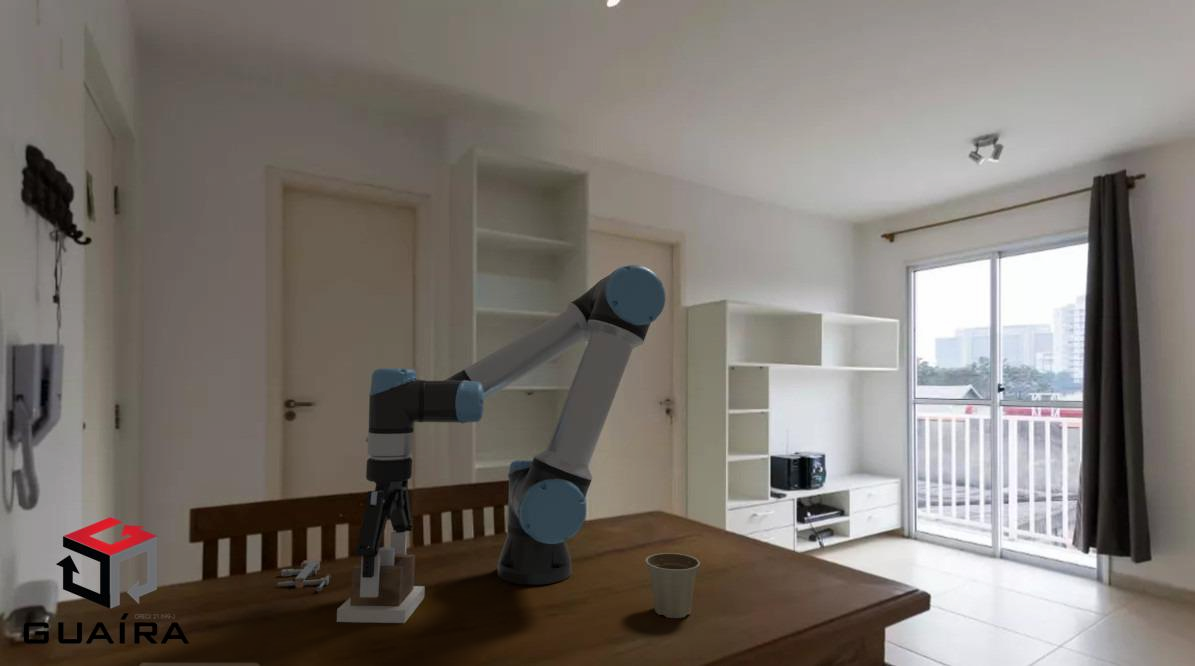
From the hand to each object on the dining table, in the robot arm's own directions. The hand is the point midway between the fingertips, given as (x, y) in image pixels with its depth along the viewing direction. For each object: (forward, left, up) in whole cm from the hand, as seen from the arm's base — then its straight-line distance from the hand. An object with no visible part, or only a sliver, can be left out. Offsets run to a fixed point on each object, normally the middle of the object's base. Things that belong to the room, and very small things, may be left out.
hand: (384, 582), depth 100 cm
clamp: (+20, -13, -5) cm, 25 cm away
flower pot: (-50, -1, -5) cm, 50 cm away
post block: (0, 0, -4) cm, 4 cm away
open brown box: (0, 0, -2) cm, 3 cm away
